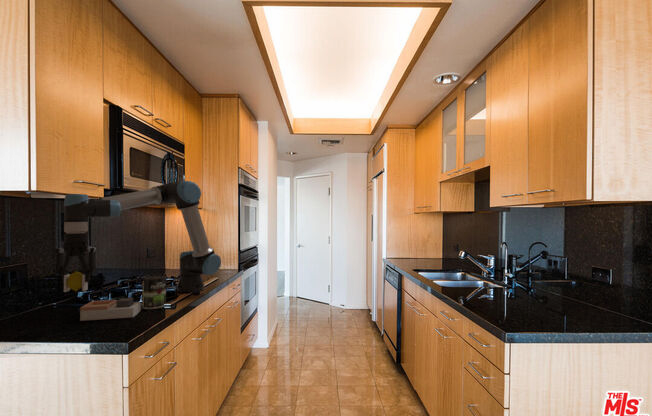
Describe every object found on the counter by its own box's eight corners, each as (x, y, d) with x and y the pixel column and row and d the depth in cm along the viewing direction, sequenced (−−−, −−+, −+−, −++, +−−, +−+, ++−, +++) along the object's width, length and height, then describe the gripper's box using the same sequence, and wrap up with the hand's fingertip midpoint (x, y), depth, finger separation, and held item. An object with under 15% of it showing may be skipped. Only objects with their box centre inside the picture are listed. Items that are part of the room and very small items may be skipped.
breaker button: (133, 311, 144) (133, 297, 145) (129, 314, 140) (129, 300, 140) (120, 311, 143) (120, 298, 143) (116, 315, 138) (116, 301, 139)
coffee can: (170, 305, 155) (170, 276, 155) (148, 310, 147) (148, 280, 147) (160, 302, 161) (160, 274, 162) (138, 306, 153) (138, 277, 153)
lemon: (80, 292, 125) (80, 272, 125) (64, 293, 124) (64, 272, 124) (87, 289, 130) (87, 269, 130) (72, 289, 129) (72, 270, 129)
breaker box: (141, 310, 147) (141, 298, 148) (133, 317, 138) (133, 304, 138) (91, 313, 143) (92, 301, 143) (80, 320, 133) (80, 307, 133)
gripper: (106, 231, 133) (106, 287, 132) (54, 232, 128) (54, 289, 128) (98, 232, 125) (98, 291, 125) (42, 233, 121) (42, 294, 121)
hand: (75, 290), depth 127 cm, fingers closed on lemon, 5 cm apart
